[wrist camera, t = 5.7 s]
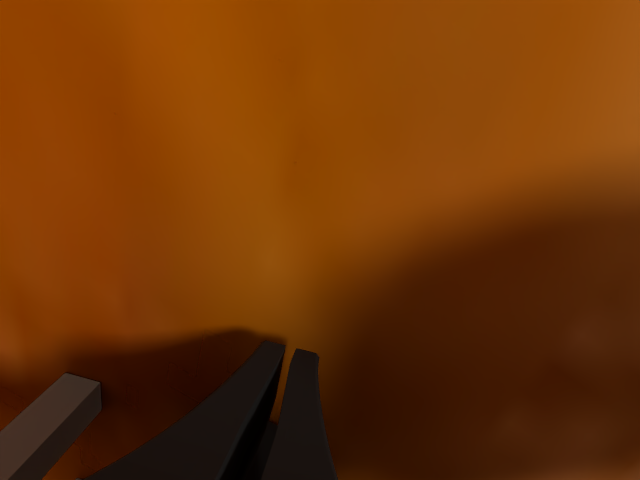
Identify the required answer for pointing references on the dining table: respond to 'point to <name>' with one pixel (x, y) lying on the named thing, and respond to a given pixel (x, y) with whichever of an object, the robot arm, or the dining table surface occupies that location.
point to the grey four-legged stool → (48, 428)
